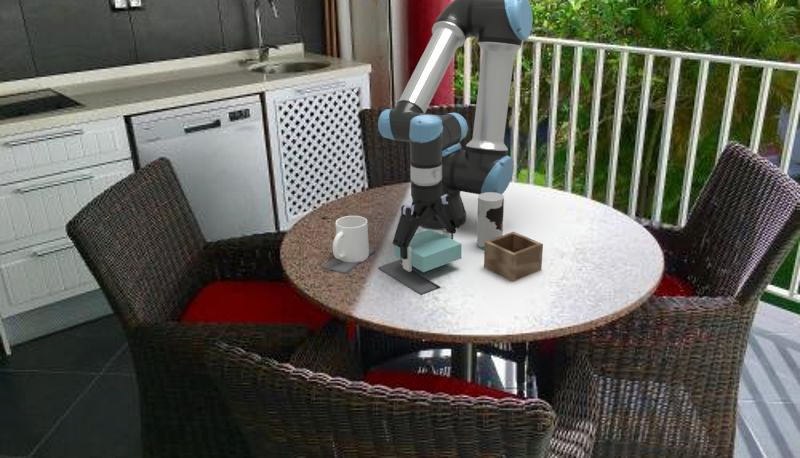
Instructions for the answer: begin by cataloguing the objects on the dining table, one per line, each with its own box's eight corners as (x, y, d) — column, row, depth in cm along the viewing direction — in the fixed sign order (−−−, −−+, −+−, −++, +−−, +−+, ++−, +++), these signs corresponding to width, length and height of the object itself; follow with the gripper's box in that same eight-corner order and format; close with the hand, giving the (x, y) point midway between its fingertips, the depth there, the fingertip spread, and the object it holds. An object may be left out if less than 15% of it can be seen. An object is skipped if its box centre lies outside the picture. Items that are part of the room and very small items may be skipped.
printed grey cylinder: (506, 251, 181) (508, 199, 175) (483, 256, 179) (485, 202, 173) (494, 242, 187) (496, 190, 181) (472, 246, 185) (473, 194, 179)
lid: (394, 259, 172) (393, 241, 170) (431, 247, 179) (431, 228, 177) (423, 276, 163) (423, 257, 161) (461, 262, 170) (461, 243, 168)
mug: (347, 272, 172) (344, 235, 168) (322, 264, 177) (319, 228, 173) (375, 255, 181) (373, 219, 177) (351, 248, 186) (348, 213, 182)
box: (483, 270, 171) (484, 241, 168) (512, 259, 177) (513, 231, 173) (512, 285, 164) (513, 255, 161) (541, 273, 169) (543, 244, 166)
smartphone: (320, 266, 175) (352, 243, 187) (321, 269, 175) (352, 247, 187) (345, 272, 171) (376, 249, 183) (345, 276, 172) (376, 252, 184)
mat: (377, 268, 174) (377, 267, 174) (432, 249, 184) (432, 248, 183) (421, 294, 161) (421, 293, 160) (478, 273, 170) (478, 271, 170)
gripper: (394, 196, 153) (397, 281, 162) (474, 174, 166) (473, 254, 175) (375, 188, 159) (379, 270, 167) (454, 167, 172) (454, 244, 180)
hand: (427, 262), depth 171 cm, fingers closed on lid, 12 cm apart
